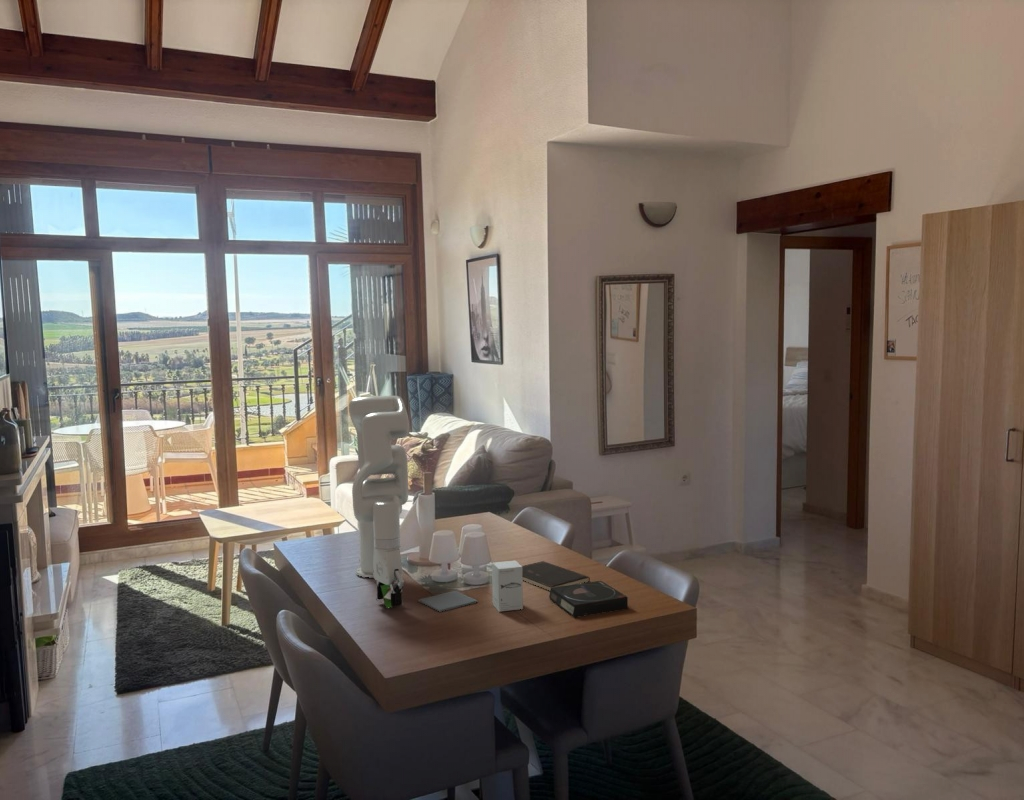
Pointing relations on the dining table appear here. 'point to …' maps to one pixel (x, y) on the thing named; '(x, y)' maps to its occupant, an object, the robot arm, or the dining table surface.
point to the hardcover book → (551, 575)
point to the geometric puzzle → (386, 595)
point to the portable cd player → (588, 598)
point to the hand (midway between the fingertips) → (389, 601)
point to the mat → (447, 601)
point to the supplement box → (507, 585)
